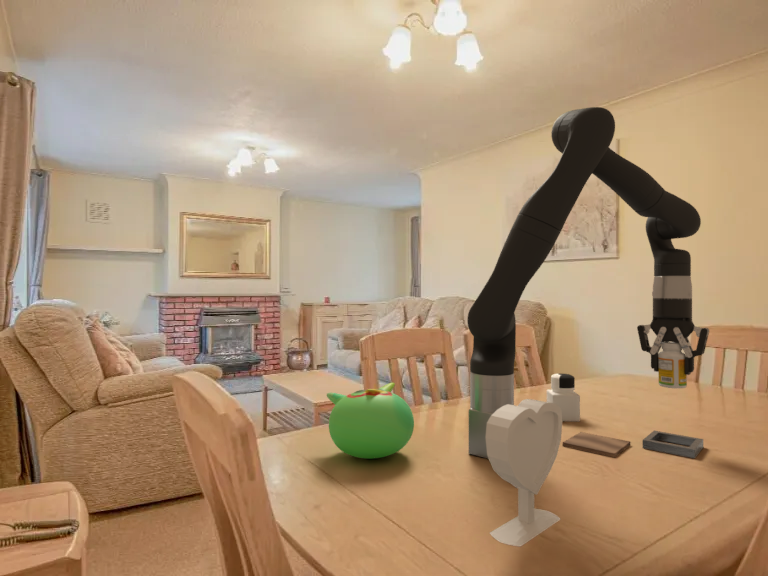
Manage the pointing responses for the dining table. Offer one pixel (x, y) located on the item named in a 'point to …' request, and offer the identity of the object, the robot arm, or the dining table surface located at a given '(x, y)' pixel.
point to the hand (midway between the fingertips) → (671, 372)
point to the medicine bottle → (565, 396)
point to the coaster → (597, 444)
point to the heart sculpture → (524, 462)
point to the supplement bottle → (672, 366)
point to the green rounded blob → (370, 422)
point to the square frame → (654, 444)
